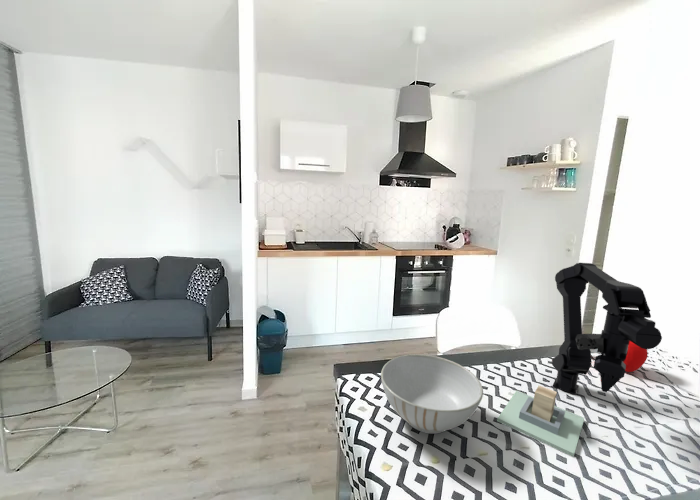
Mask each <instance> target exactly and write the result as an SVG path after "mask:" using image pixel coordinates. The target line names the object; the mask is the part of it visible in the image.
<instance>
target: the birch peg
mask: <svg viewBox="0 0 700 500" xmlns="http://www.w3.org/2000/svg"><path fill="white" fill-rule="evenodd" d="M557 394H558V392H557V391H555V390H553V389H550V388H548V387H544V386H542V385H538V386H537V388H536V390H535V391H534V396H533V397H534V401H533V407H532V413H531V414H532V415H535V416H537V417H539V418H542V419H544V420H546V421H549V422H551V419H552V417H553V411H554V406H556V405H555V404H556V399H557Z"/></svg>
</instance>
